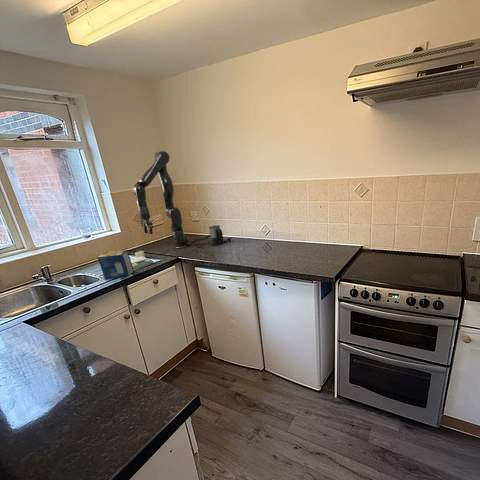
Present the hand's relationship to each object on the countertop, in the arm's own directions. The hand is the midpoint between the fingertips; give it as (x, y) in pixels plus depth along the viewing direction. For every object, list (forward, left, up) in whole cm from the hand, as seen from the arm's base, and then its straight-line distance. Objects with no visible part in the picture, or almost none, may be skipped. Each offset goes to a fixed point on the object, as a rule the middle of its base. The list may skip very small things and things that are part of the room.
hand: (149, 233), depth 232 cm
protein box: (+37, +23, -18) cm, 47 cm away
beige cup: (+11, -2, -17) cm, 20 cm away
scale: (+19, +11, -17) cm, 28 cm away
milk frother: (-46, +28, -18) cm, 57 cm away
